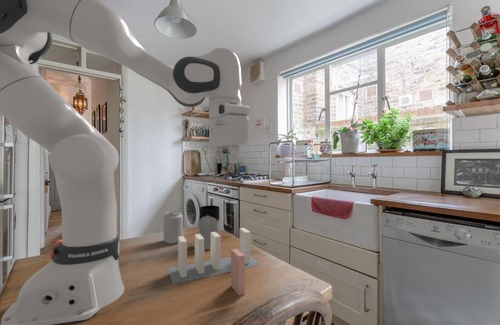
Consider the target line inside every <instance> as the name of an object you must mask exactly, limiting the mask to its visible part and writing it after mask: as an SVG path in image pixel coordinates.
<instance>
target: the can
mask: <svg viewBox="0 0 500 325" xmlns="http://www.w3.org/2000/svg"><path fill="white" fill-rule="evenodd" d="M181 236H184V216H183V214H182V211H180V210H169V211H166V212H164V216H163V241H164V242H165V244H168V245H175V244H178V237H181Z"/></svg>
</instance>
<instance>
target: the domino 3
mask: <svg viewBox="0 0 500 325" xmlns="http://www.w3.org/2000/svg"><path fill="white" fill-rule="evenodd" d="M221 238H222V237H221V234H220V235H219V234H217V233H216V232H211V249H210V260H211V265H212V267H213V268H214V269H215V270H220V269H221V258H222V257H221V255H222V254H221V252H222V250H221V242H222V240H221Z"/></svg>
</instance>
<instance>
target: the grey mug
mask: <svg viewBox="0 0 500 325" xmlns="http://www.w3.org/2000/svg"><path fill="white" fill-rule="evenodd" d="M198 223H199V224H198V229H199V230H198V232H199V233H198V234H200V235H201V236H202V237H203V238H204V250H211V232H216V233H217V234H219V235H220V236H221V218H220V206H219V205H210V204H209V205H202V206H200V207H199V219H198Z"/></svg>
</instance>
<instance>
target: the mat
mask: <svg viewBox="0 0 500 325" xmlns="http://www.w3.org/2000/svg"><path fill="white" fill-rule="evenodd" d="M261 265H262V263H260V262H259V261H258V260H257V259H255V258H254V257H253V256H252V255H250V263H249V264H245V269H248V268H254V267H257V266H261ZM167 272H168V275H169V278H170V281H171V284H172V285H176V284H180V283H184V282H189V281H193V280H198V279H203V278H207V277H212V276H216V275H217V276H218V275H221V274H225V273H231V256H227V257H221V269H220V270H215V269H214V268H213V267H212V265H211V259H210V260H204V273H201V274H199V273H198V272H197V270H196V268H195V262H194V263H191V264H187V277H182V278H181V276H180V274H179V271H178V266H175V267H169V268H167Z"/></svg>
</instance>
